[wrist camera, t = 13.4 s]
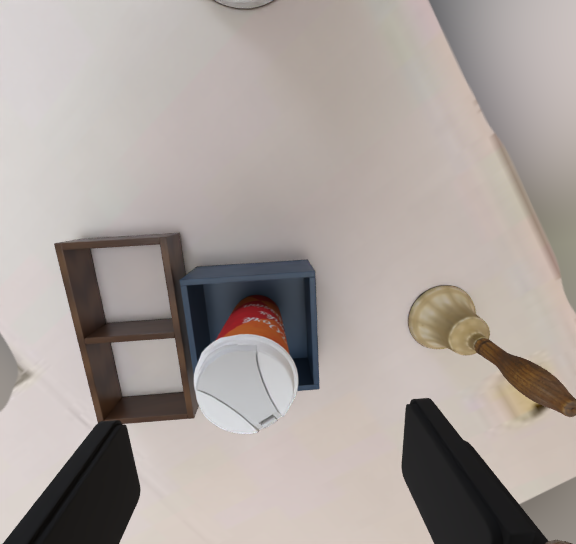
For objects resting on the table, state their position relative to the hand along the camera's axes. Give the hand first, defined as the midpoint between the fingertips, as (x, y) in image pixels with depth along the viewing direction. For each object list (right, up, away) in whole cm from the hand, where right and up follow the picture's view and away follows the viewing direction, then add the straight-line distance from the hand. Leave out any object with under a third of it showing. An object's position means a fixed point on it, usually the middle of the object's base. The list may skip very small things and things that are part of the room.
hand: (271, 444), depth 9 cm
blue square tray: (-3, +1, +24) cm, 25 cm away
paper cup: (-3, +1, +24) cm, 24 cm away
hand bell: (+19, 0, +26) cm, 32 cm away
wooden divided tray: (-16, 0, +24) cm, 29 cm away
